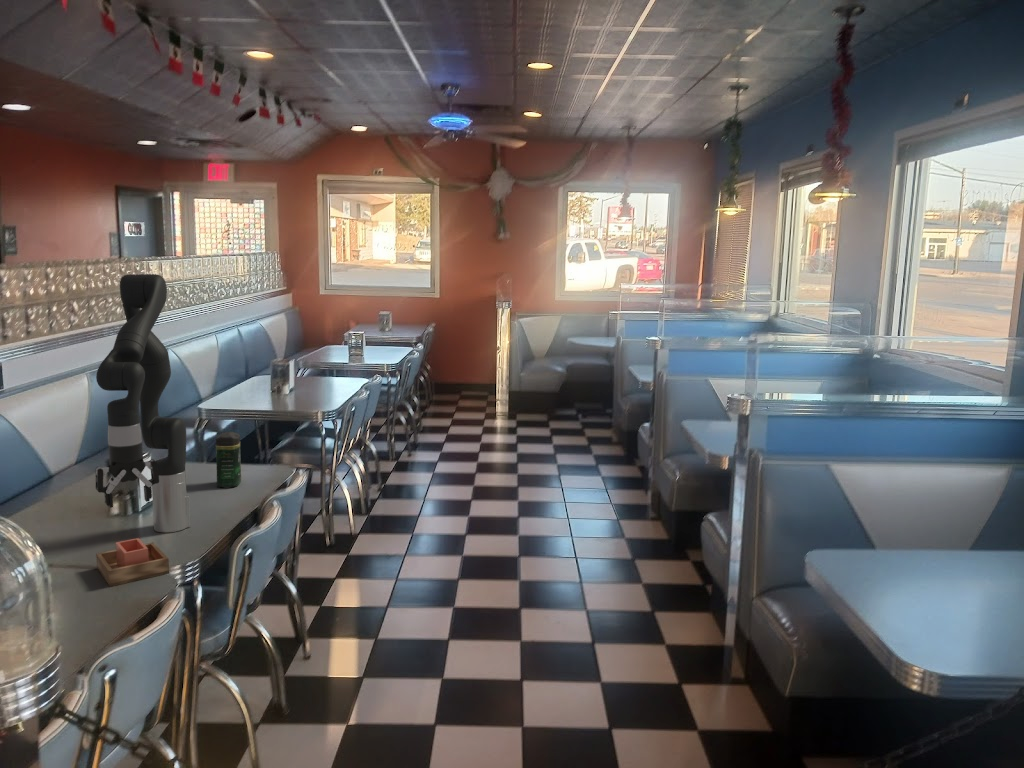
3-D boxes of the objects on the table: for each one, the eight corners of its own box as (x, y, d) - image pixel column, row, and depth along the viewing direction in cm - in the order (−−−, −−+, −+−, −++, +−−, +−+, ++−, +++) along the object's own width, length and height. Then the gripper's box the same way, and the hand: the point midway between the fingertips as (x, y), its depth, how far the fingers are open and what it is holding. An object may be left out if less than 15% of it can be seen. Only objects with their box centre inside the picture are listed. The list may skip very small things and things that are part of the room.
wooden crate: (154, 556, 209) (153, 542, 208) (169, 573, 199) (168, 558, 198) (97, 568, 200) (96, 553, 200) (109, 586, 190) (108, 571, 189)
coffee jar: (239, 488, 270) (237, 436, 267) (215, 488, 269) (213, 436, 265) (243, 480, 279) (241, 429, 276) (220, 480, 278) (218, 430, 275)
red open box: (149, 570, 198) (148, 548, 197) (125, 576, 194) (124, 553, 193) (139, 559, 205) (138, 538, 204) (117, 564, 201) (115, 542, 200)
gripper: (97, 448, 187) (101, 513, 189) (159, 440, 195) (163, 502, 198) (90, 442, 192) (94, 505, 195) (151, 434, 201) (154, 494, 204)
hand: (129, 503), depth 197 cm, fingers open, 8 cm apart
